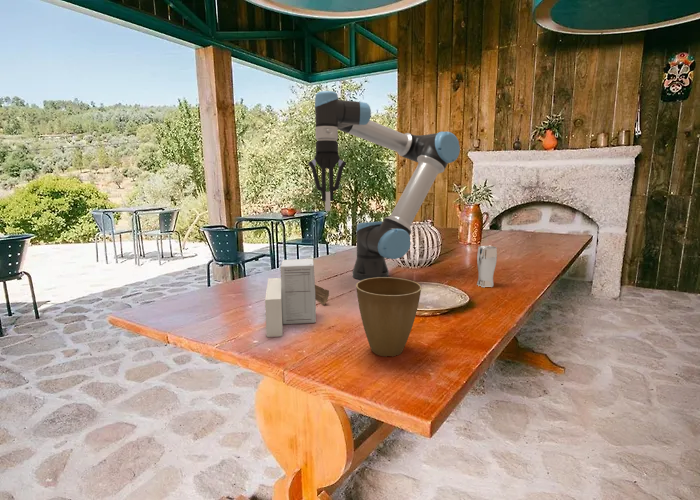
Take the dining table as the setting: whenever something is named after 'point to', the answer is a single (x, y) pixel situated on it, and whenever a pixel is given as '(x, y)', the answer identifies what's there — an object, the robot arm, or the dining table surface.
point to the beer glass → (486, 265)
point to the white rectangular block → (273, 308)
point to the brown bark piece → (321, 295)
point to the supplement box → (298, 291)
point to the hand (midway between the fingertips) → (327, 210)
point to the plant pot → (388, 312)
